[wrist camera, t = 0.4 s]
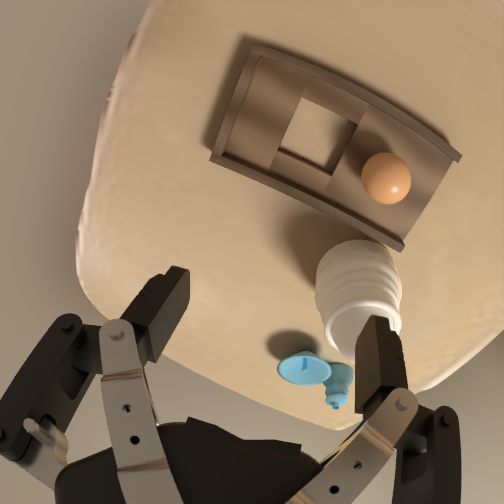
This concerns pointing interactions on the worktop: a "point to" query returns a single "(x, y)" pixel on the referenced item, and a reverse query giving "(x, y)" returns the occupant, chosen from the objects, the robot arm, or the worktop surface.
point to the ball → (386, 178)
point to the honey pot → (356, 291)
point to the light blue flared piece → (318, 375)
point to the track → (352, 158)
